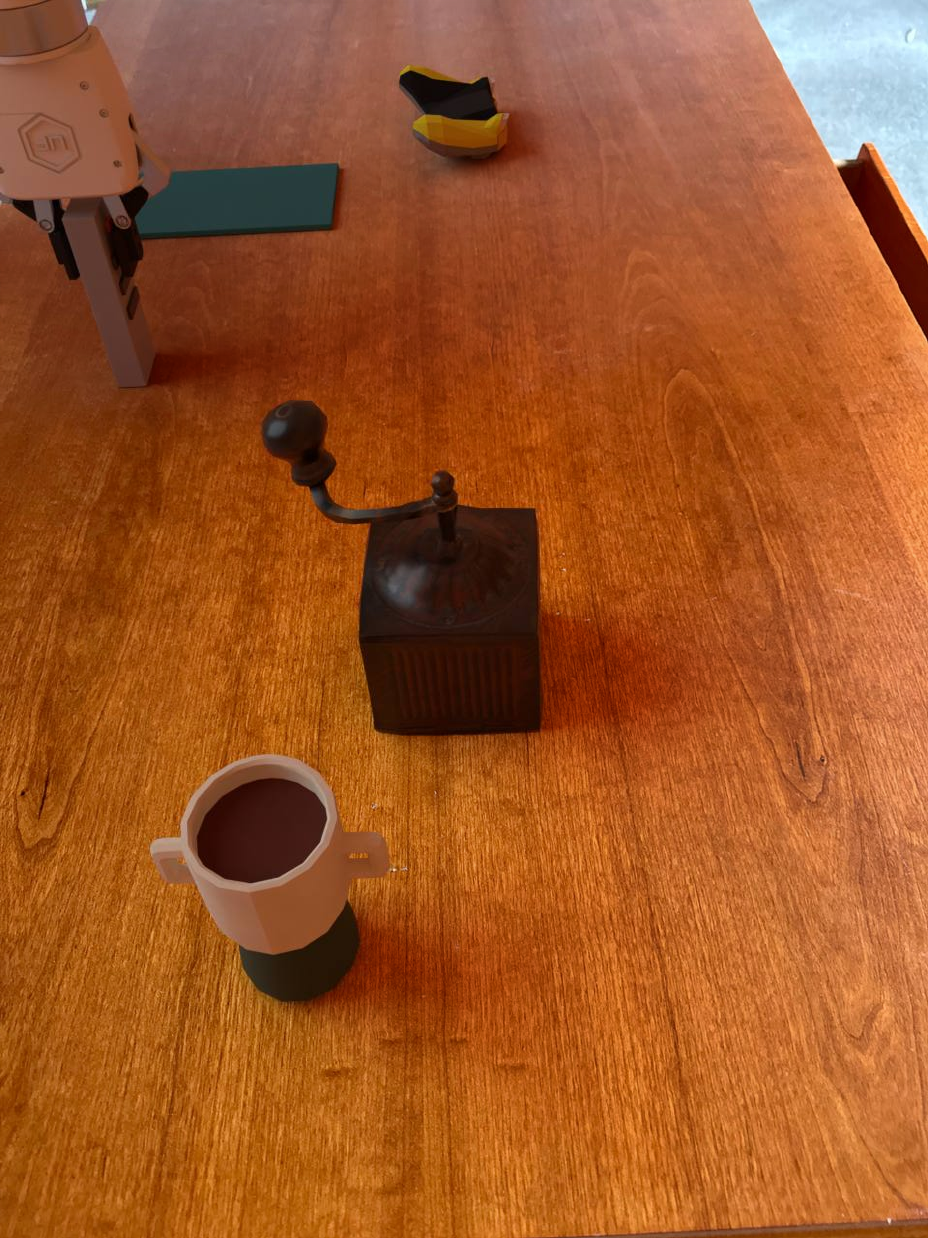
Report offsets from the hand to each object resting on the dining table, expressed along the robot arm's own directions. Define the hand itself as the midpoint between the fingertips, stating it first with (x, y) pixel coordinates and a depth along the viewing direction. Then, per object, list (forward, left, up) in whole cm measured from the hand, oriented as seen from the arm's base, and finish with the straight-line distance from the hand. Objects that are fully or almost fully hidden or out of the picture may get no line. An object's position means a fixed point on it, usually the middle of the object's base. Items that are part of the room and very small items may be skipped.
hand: (104, 266), depth 88 cm
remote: (0, 0, -10) cm, 10 cm away
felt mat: (+4, +27, -10) cm, 29 cm away
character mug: (+18, -52, -10) cm, 56 cm away
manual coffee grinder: (+24, -33, -10) cm, 42 cm away
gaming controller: (+27, +38, -10) cm, 48 cm away
